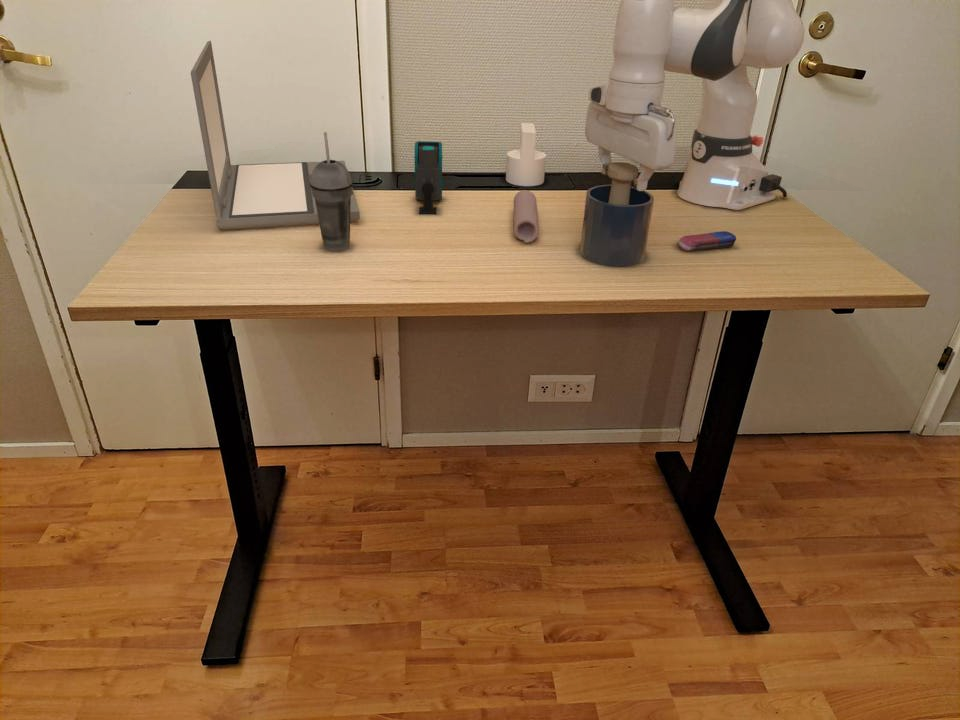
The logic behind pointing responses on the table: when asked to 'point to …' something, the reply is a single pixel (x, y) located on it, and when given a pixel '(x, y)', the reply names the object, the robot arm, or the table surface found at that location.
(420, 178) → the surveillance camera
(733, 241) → the eraser
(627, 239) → the open cylindrical bucket
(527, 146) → the cylinder with rectangular tab
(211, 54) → the laptop
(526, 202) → the coil
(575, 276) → the table surface
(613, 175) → the handle
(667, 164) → the robot arm
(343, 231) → the beverage cup
